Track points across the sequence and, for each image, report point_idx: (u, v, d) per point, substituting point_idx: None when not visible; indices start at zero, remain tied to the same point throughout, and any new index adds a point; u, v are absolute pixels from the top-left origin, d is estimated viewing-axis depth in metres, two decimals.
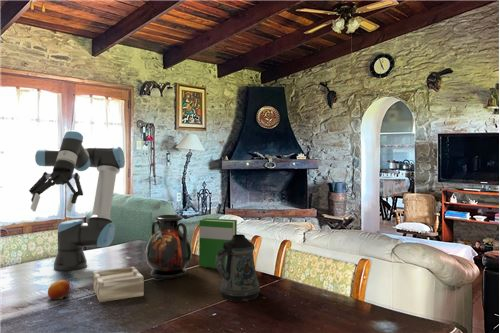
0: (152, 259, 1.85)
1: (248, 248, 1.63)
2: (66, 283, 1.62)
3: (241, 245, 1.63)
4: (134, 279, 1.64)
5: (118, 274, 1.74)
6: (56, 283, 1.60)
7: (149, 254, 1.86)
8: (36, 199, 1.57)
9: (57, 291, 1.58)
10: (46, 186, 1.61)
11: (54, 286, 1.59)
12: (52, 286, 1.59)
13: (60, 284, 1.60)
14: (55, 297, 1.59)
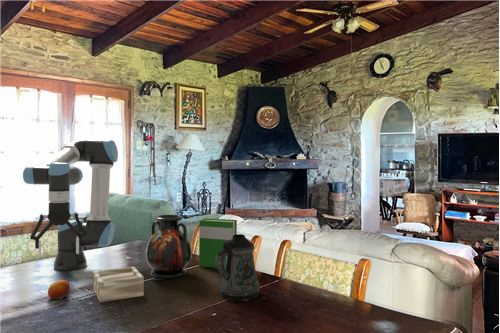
0: (152, 259, 1.85)
1: (248, 248, 1.63)
2: (66, 283, 1.62)
3: (241, 245, 1.63)
4: (134, 279, 1.64)
5: (118, 274, 1.74)
6: (56, 283, 1.60)
7: (149, 254, 1.86)
8: (40, 246, 1.58)
9: (57, 291, 1.58)
10: (46, 230, 1.59)
11: (54, 286, 1.59)
12: (52, 286, 1.59)
13: (60, 284, 1.60)
14: (55, 297, 1.59)
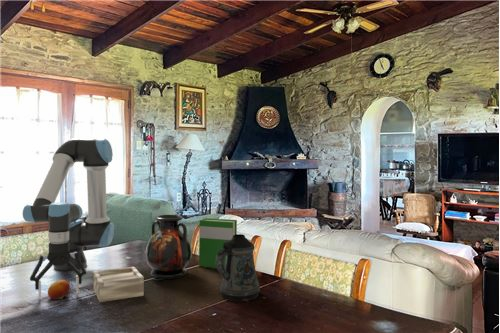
0: (152, 259, 1.85)
1: (248, 248, 1.63)
2: (66, 283, 1.62)
3: (241, 245, 1.63)
4: (134, 279, 1.64)
5: (118, 274, 1.74)
6: (56, 283, 1.60)
7: (149, 254, 1.86)
8: (40, 287, 1.58)
9: (57, 291, 1.58)
10: (46, 270, 1.59)
11: (54, 286, 1.59)
12: (52, 286, 1.59)
13: (60, 284, 1.60)
14: (55, 297, 1.59)
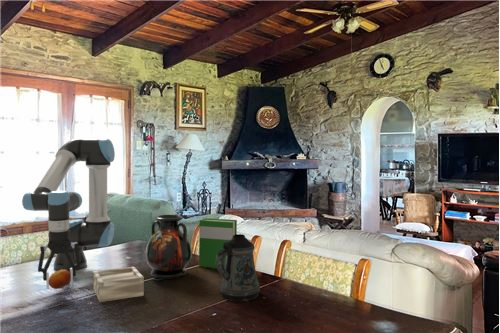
0: (152, 259, 1.85)
1: (248, 248, 1.63)
2: (67, 273, 1.62)
3: (241, 245, 1.63)
4: (134, 279, 1.64)
5: (118, 274, 1.74)
6: (57, 273, 1.60)
7: (149, 254, 1.86)
8: (48, 278, 1.60)
9: (58, 281, 1.59)
10: None
11: (54, 275, 1.59)
12: (53, 276, 1.59)
13: (61, 273, 1.60)
14: (56, 286, 1.59)
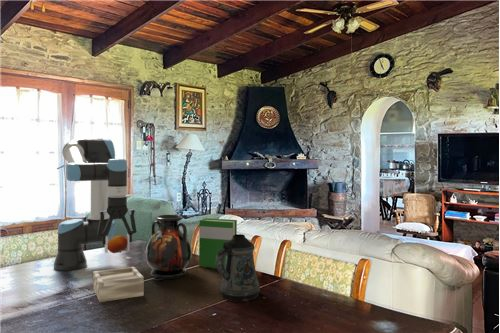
0: (152, 259, 1.85)
1: (248, 248, 1.63)
2: (124, 238, 1.68)
3: (241, 245, 1.63)
4: (134, 279, 1.64)
5: (118, 274, 1.74)
6: (115, 237, 1.66)
7: (149, 254, 1.86)
8: None
9: (117, 245, 1.65)
10: None
11: (113, 239, 1.65)
12: (112, 240, 1.65)
13: (119, 238, 1.66)
14: (115, 250, 1.65)
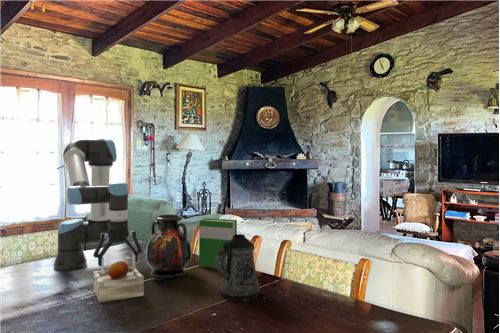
0: (152, 259, 1.85)
1: (248, 248, 1.63)
2: (125, 264, 1.69)
3: (241, 245, 1.63)
4: (134, 279, 1.64)
5: None
6: (116, 263, 1.67)
7: (149, 254, 1.86)
8: None
9: (118, 271, 1.66)
10: None
11: (114, 266, 1.66)
12: (113, 266, 1.66)
13: (120, 264, 1.67)
14: (116, 277, 1.66)
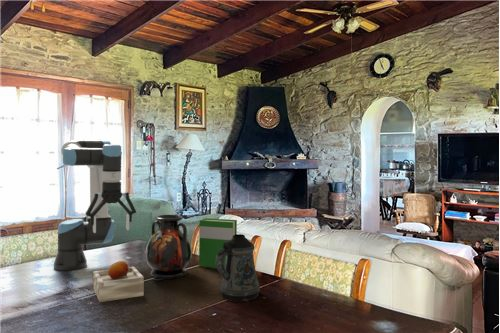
0: (152, 259, 1.85)
1: (248, 248, 1.63)
2: (125, 264, 1.69)
3: (241, 245, 1.63)
4: (134, 279, 1.64)
5: None
6: (116, 264, 1.67)
7: (149, 254, 1.86)
8: (95, 222, 1.69)
9: (118, 271, 1.66)
10: None
11: (114, 266, 1.66)
12: (113, 266, 1.66)
13: (120, 264, 1.67)
14: (116, 277, 1.66)
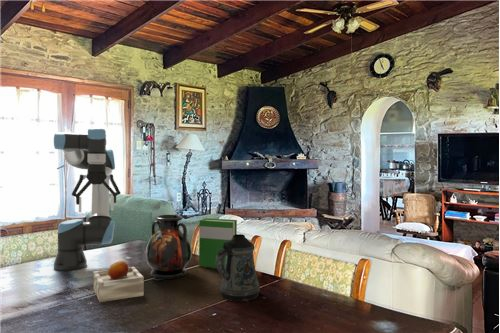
0: (152, 259, 1.85)
1: (248, 248, 1.63)
2: (125, 264, 1.69)
3: (241, 245, 1.63)
4: (134, 279, 1.64)
5: None
6: (116, 264, 1.67)
7: (149, 254, 1.86)
8: None
9: (118, 271, 1.66)
10: (86, 188, 1.78)
11: (114, 266, 1.66)
12: (113, 266, 1.66)
13: (120, 264, 1.67)
14: (116, 277, 1.66)
